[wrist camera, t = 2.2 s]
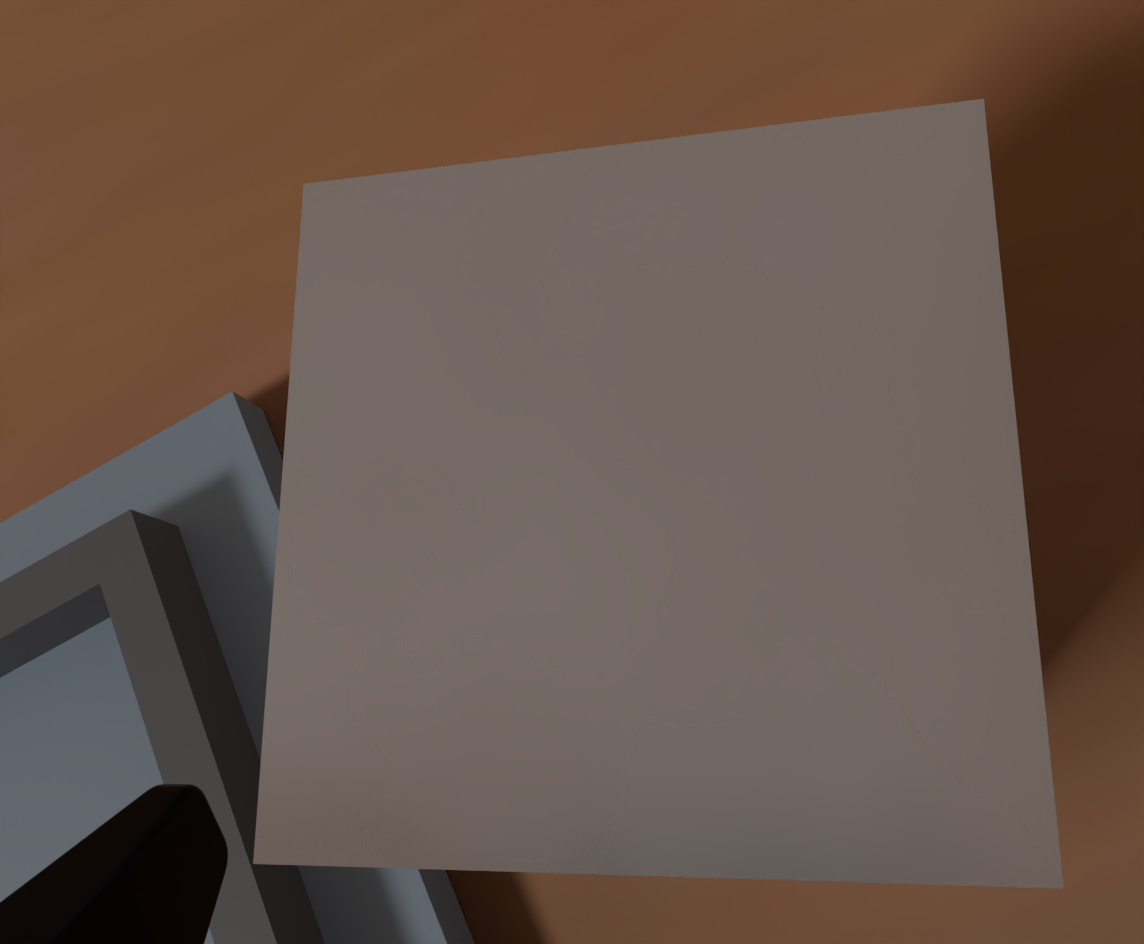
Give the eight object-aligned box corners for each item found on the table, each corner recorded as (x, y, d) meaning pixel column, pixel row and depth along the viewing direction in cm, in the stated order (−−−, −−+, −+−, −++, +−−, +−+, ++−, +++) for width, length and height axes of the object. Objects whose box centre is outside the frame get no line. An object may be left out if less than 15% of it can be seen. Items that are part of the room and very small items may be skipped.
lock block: (928, 808, 18) (1064, 889, 7) (601, 803, 19) (252, 864, 8) (905, 482, 19) (983, 97, 8) (600, 498, 21) (304, 184, 9)
